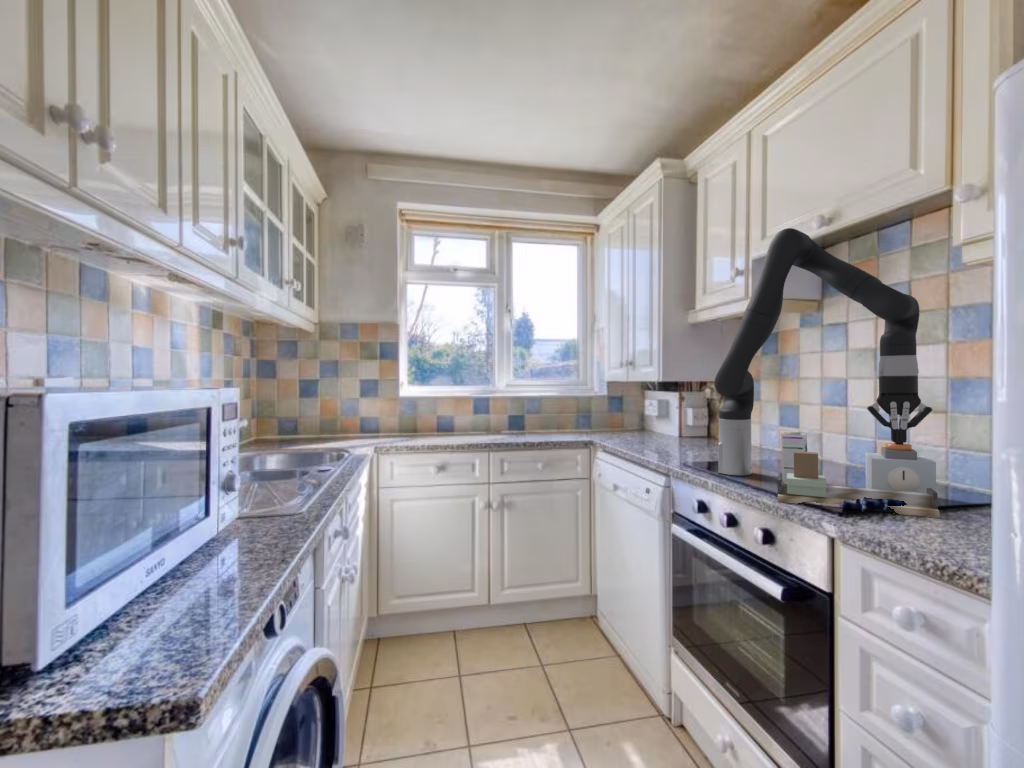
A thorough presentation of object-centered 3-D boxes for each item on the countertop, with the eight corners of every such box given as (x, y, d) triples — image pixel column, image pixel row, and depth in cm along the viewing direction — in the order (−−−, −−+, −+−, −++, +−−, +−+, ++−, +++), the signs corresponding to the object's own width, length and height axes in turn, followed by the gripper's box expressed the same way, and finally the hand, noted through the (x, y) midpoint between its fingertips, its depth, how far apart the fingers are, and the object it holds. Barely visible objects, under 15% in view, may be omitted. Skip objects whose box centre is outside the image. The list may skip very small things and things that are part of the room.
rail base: (777, 501, 115) (777, 481, 115) (778, 494, 122) (777, 475, 122) (939, 517, 100) (939, 494, 100) (929, 508, 107) (929, 486, 107)
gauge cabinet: (872, 500, 115) (872, 451, 115) (865, 490, 125) (865, 445, 124) (937, 506, 109) (936, 454, 109) (924, 495, 119) (924, 447, 118)
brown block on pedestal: (787, 494, 115) (786, 453, 115) (787, 488, 121) (786, 449, 121) (826, 498, 111) (826, 455, 111) (824, 491, 117) (824, 451, 117)
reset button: (887, 456, 116) (887, 444, 116) (883, 453, 120) (883, 442, 120) (913, 458, 114) (913, 446, 114) (909, 454, 118) (909, 443, 118)
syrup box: (806, 488, 128) (805, 434, 128) (781, 485, 132) (781, 433, 132) (808, 484, 133) (808, 432, 133) (784, 481, 137) (783, 431, 136)
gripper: (928, 373, 117) (929, 443, 117) (862, 374, 123) (863, 441, 124) (937, 373, 110) (938, 447, 110) (867, 374, 117) (867, 444, 117)
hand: (898, 444), depth 117 cm, fingers closed
